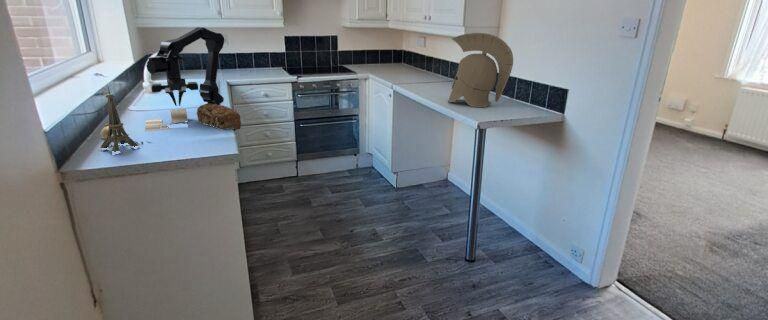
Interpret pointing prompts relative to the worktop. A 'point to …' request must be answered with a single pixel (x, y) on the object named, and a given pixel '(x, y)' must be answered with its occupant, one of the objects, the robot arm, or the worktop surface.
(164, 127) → the cardboard box
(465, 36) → the helmet
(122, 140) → the eiffel tower
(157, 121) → the oak plank
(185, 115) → the oak plank
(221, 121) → the bread
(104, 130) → the onion
